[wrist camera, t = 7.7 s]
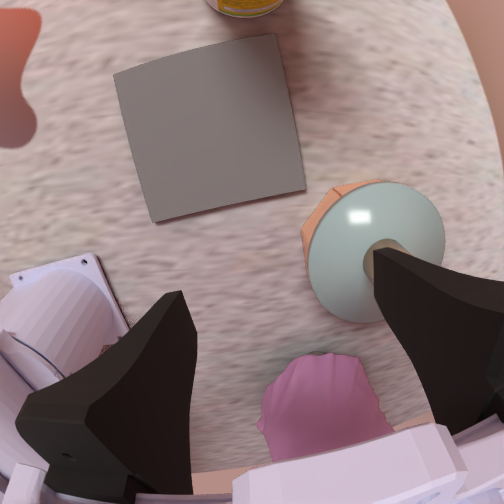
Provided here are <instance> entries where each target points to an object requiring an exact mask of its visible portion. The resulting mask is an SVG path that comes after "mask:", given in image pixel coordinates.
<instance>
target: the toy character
mask: <svg viewBox="0 0 504 504" xmlns="http://www.w3.org/2000/svg"><path fill="white" fill-rule="evenodd" d="M256 426H257V428H258V429H259V430H260V431H261V432H262V433H263V435H264V436H265V439H266V441H267V444H268V447H269V450H270V455H271V458H272V460H273V462H276V461H280V460H286V459H291V458H297V457H302V456H307V455H312V454H316V453H321V452H325V451H330V450H334V449H338V448H342V447H346V446H349V445H353V444H357V443H360V442H364V441H367V440H370V439H374V438H377V437H380V436H383V435H386V434H389V433H392V432H395V431H394V429H393V427H392V426H391V425H390V424H389V423H388V422H387V421H386V418H385V415H384V413H383V412H382V411H381V410H380V408H379V398H378V397H377V396H376V394H375V392H374V390H373V388H372V387H371V386H370V384H369V380H368V377H367V375H366V373H365V371H364V368H363V365H362V364H361V362H360V361H359V357H358V356H354V357H352V356H348V355H335V354H334V353H327V354H324V353H322V352H317V351H315V352H311V353H309V354H307V355H303V356H301V357H297V358H296V359H294V360H293V361H292V362H291V363H290V364H289V365H288V366H287V367H286V369H285V370H284V371H283V373H282V374H280V375H279V376H278V377H277V378H276V380H275V381H274V382H272V383H271V384H269V385H268V386H267V388H266V390H265V393H264V395H263V399H262V416H261V418H260V420H259V421H258V422H257V424H256Z"/></svg>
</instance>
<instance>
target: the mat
mask: <svg viewBox="0 0 504 504" xmlns="http://www.w3.org/2000/svg"><path fill="white" fill-rule="evenodd" d="M113 77H114V81H115V86H116V91H117V95H118V100H119V104H120V108H121V112H122V117H123V121H124V125H125V129H126V133H127V137H128V141H129V144H130V148H131V152H132V156H133V159H134V163H135V167H136V170H137V174H138V177H139V181H140V184H141V188H142V191H143V194H144V198H145V201H146V204H147V207H148V211H149V214H150V217H151V220H152V223H154V222H158V221H162V220H166V219H170V218H174V217H178V216H182V215H187V214H191V213H195V212H199V211H204V210H208V209H213V208H217V207H222V206H226V205H231V204H235V203H240V202H245V201H249V200H254V199H259V198H264V197H269V196H274V195H279V194H284V193H289V192H294V191H299V190H304V189H306V186H305V180H304V173H303V167H302V162H301V156H300V150H299V144H298V139H297V134H296V128H295V123H294V118H293V113H292V107H291V102H290V98H289V93H288V88H287V83H286V78H285V74H284V69H283V65H282V60H281V56H280V51H279V47H278V43H277V39H276V34H268V35H261V36H255V37H249V38H243V39H237V40H232V41H227V42H222V43H218V44H213V45H209V46H204V47H200V48H196V49H192V50H188V51H185V52H181V53H177V54H174V55H170V56H167V57H163V58H160V59H157V60H154V61H151V62H147V63H144V64H141V65H138V66H136V67H133V68H130V69H127V70H124V71H122V72H119V73H116V74H114V75H113Z"/></svg>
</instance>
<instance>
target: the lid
mask: <svg viewBox="0 0 504 504" xmlns="http://www.w3.org/2000/svg"><path fill="white" fill-rule="evenodd" d="M385 247H390V248H393V249H396V250H399V251H402V252H404V253H407V254H409V255H412V256H414V257H417V258H419V259H422V260H424V261H427V262H429V263H432V264H435V265H437V266H440V267H441V264H442V260H443V256H444V251H445V231H444V226H443V222H442V219H441V216H440V214H439V212H438V211H437V209H436V207H435V206H434V205H433V203H432V202H431V201H430V200H429V199H428V198H427V197H426V196H425V195H423V194H422V193H420V192H419V191H417V190H415V189H413V188H411V187H409V186H407V185H405V184H401V183H398V182H391V181H378V182H372V183H368V184H365V185H362V186H359V187H357V188H355V189H353V190H351V191H349V192H348V193H346V194H344V195H343V196H341V197H340V198H339V199H338V200H337V201H336V202H334V203H333V204H332V205H331V206H330V207H329V209H328V210H327V211H326V212H325V213H324V215H323V216H322V218H321V219H320V220H319V222H318V224H317V226H316V228H315V229H314V232H313V234H312V237H311V240H310V243H309V247H308V254H307V270H308V276H309V279H310V283H311V285H312V288H313V290H314V292H315V294H316V296H317V298H318V300H319V301H320V303H321V304H322V305H323V306H324V307H325V308H326V309H327V310H328V311H329V312H330V313H332V314H333V315H335V316H336V317H338V318H340V319H343V320H346V321H349V322H354V323H374V322H380V321H383V320H385V318H384V317H383V315H382V313H381V311H380V309H379V307H378V304H377V302H376V300H375V298H374V272H373V250H376V249H381V248H385Z"/></svg>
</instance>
